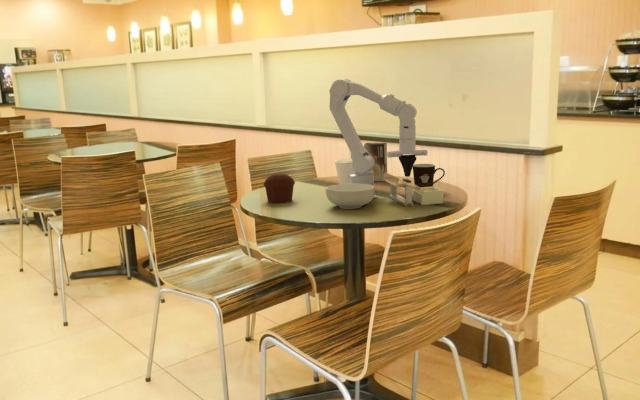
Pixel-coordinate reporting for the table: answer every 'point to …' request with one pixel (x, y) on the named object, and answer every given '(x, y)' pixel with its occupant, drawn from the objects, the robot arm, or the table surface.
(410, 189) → the lever stand
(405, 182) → the tan flat piece
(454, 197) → the table surface
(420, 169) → the coffee mug
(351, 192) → the cereal bowl
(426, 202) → the bin
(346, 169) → the cup
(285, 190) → the muffin
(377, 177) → the coffee box
